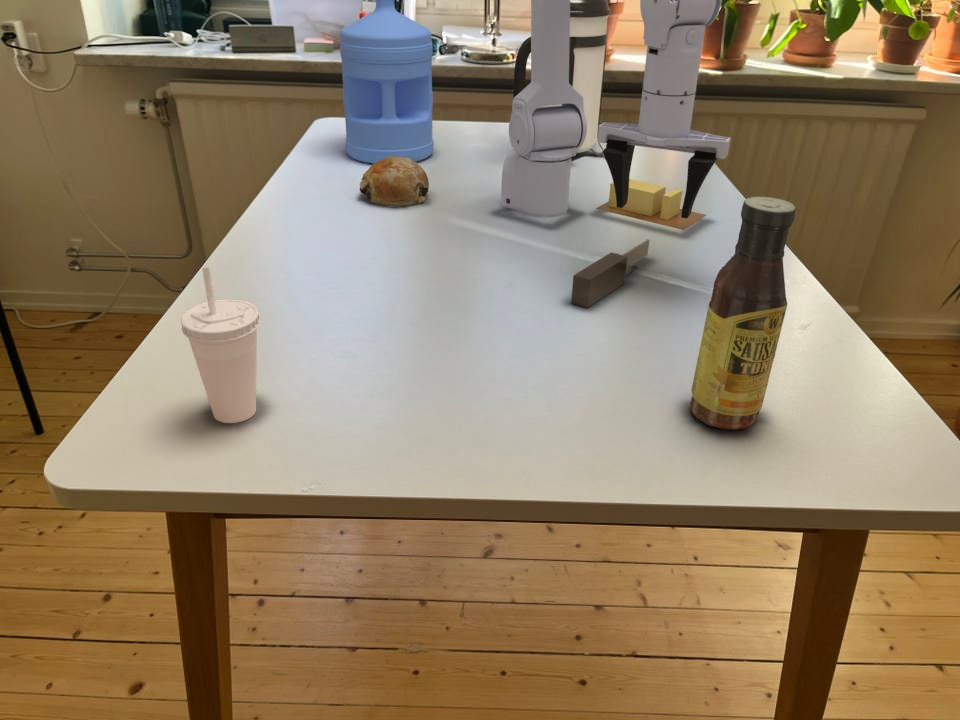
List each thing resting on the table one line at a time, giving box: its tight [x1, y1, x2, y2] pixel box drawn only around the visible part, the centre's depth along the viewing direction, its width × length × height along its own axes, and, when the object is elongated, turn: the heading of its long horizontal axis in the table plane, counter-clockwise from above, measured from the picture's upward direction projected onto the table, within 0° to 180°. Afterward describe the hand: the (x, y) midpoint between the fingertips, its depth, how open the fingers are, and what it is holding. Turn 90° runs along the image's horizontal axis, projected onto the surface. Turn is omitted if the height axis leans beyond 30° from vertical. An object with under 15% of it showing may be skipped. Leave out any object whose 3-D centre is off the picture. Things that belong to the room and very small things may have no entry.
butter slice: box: [660, 188, 683, 220], centre depth 117 cm, size 1×4×4 cm, turn 144°
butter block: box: [608, 178, 667, 216], centre depth 120 cm, size 7×4×4 cm, turn 54°
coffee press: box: [512, 0, 612, 157], centre depth 141 cm, size 17×16×30 cm
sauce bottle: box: [689, 196, 797, 431], centre depth 69 cm, size 6×6×20 cm
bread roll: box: [359, 156, 430, 207], centre depth 125 cm, size 10×10×8 cm
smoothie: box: [180, 265, 262, 424], centre depth 70 cm, size 6×6×14 cm
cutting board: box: [595, 201, 707, 231], centre depth 120 cm, size 14×8×1 cm, turn 54°
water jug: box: [339, 0, 435, 165], centre depth 140 cm, size 16×16×28 cm
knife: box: [570, 238, 650, 309], centre depth 99 cm, size 2×17×4 cm, turn 144°
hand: (653, 210), depth 96 cm, fingers open, 7 cm apart
